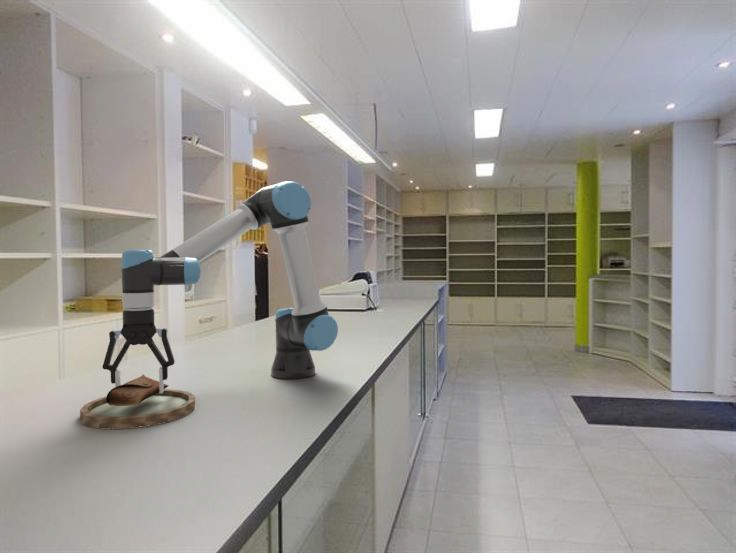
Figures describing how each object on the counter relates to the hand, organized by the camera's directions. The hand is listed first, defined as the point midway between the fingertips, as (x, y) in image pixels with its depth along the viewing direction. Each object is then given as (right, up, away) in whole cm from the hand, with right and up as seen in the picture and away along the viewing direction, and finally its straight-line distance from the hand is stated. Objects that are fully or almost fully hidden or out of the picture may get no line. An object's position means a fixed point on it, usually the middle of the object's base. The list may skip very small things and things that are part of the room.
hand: (140, 393), depth 133 cm
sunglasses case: (0, -1, 0) cm, 1 cm away
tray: (0, -5, 0) cm, 5 cm away
